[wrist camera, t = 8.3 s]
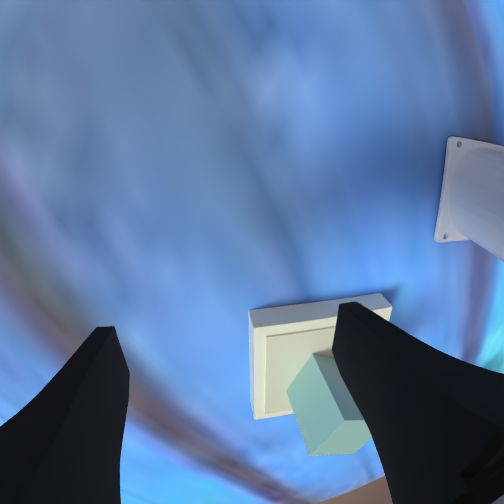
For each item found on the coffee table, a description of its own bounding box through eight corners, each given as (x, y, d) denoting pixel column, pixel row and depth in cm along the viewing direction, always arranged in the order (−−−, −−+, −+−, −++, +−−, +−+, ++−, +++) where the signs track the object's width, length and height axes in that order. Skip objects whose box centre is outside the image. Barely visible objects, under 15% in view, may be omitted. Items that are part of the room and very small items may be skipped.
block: (354, 360, 23) (389, 419, 18) (327, 395, 24) (354, 453, 19) (312, 353, 22) (344, 420, 16) (286, 391, 23) (309, 455, 18)
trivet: (376, 289, 24) (393, 308, 21) (354, 378, 28) (365, 398, 26) (247, 305, 22) (253, 329, 20) (249, 397, 26) (254, 421, 24)
